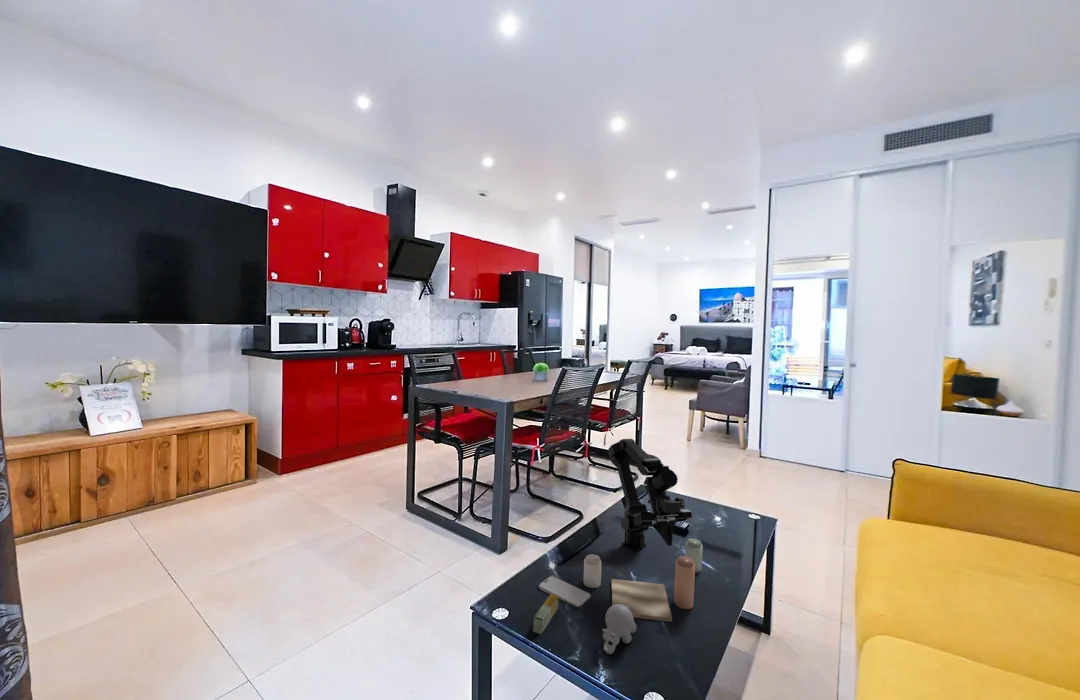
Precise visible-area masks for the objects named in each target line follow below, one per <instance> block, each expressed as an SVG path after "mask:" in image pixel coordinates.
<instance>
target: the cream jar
mask: <svg viewBox="0 0 1080 700" xmlns="http://www.w3.org/2000/svg"><path fill="white" fill-rule="evenodd" d="M601 581H602V559H601V557H600V556H599V555H597V554H593V553H589V554H587V555H586V556H585V558H584V559H583V581H582V582H583V585H584V586H586V587H587V588H589V589H595V588H599V587H600V586H601V584H602V582H601Z"/></svg>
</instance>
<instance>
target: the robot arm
mask: <svg viewBox="0 0 1080 700" xmlns="http://www.w3.org/2000/svg"><path fill="white" fill-rule="evenodd" d="M607 453H608V457H609V459H610V461H611V464H613V466H615V468H617V471H618V476H619V481H620V484H621V488H622V491H623V496H624V499H625V503H626V506H625V509H624V514H623V515H624V517H623V518H622V519H621V520H620V527H621V528H622V529H623V531H624V541H622V542H621V545H622V546H624V547H626V548H629V549H631V550H633V551H635V552H636V551H639V550H641V549H642V548H645V547H646V546H647V544H646V543H645V538H646V537H645V531H648V530H649V526H650V527H653V528H654V529H655V530H656V532H657V533H658V534H659V535H660V537H661V538H662V540H663V541H664V543H666V545H667V546H668V547H671V546H672V544H673V534H674V527H675V525H676V523H679V522H681V523H682V522H685V521H688V520H691V519H693V518H694V516H693V513H692V512H691V510H690V509H685V507H686V505H685V501H684V498H683V497H675V498H674V500H672V499H671V496H670V495H667V492H666V491H668V490H670V489H671V488H673V487H675V486H676V485H677V483H678V480H679V479H678V475H677V474H676V473H675V471H673V470H672V469H670V466H669V465H665V464H664V463H663V462H662V461H661V459H660V458H659V457H658V456H656V455H653V454H649V453H647V452H646V451H645V450H644V449H643V448H642V447H640V445H639V444H637V442H635V440H634V439H632V438H622V439H620V440H619V441H618V442H616V443H613V444H611V445H610V446H609V448H608V450H607ZM631 460H633V461H634V462H635V463H636V464H637V466H636V467H637V468H636V469H637V470H638V471H639V473H640V474H641V475H642V476H645V480H644V481H643V485H644V486H646V489H647V495H648V498H649V499H648V500H647V504H650V506H651V511H652V512H651V511H648V509H647V506H646V504H645V503H643V504H642V503H641V501H640V499H639V495H638V492H637V489H636V484H635V480H634V478H633V474H632V471H631V470H632V469H631V467H630V463H631ZM650 522H651V523H652V524H650Z"/></svg>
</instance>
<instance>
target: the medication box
mask: <svg viewBox="0 0 1080 700" xmlns="http://www.w3.org/2000/svg"><path fill="white" fill-rule="evenodd" d="M559 600H560V599H559V596H557V595H554V594H549V595H548V597H547V598H546V600H545V601H544V603H543V604H542V605H541V607H540V608H539V610H538V611H537V612H536V614H535V615H534V616H533V621H532V632H533V633H535V634H538V635H542V634H543V632H544V630H545V629H546V627H547V626H548V624H549V623H550V621H551V619H552V618H553V617H554V615H555V614H556V612H557V610H558V609H559Z"/></svg>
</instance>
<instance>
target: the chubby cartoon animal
mask: <svg viewBox="0 0 1080 700" xmlns="http://www.w3.org/2000/svg"><path fill="white" fill-rule="evenodd" d="M604 619H605V625H606V627H607V628H602V629H601V630H602V639H603V642H604V644H603V650H604V652H605V653H606V654H607V655H612V654H614V653H615V650H616V647H617V646H618V645H619V643H620V640H621V642H623V644H630V643H631V642H632V635H631V634H633V633H635V632H636V631H637V624H636V622H635V619H634V617H633V615H632V613H631V611H630V610H629V608H628V607H627V606H625V605H622V604H615V605H611V606H610V607H609V608H608V609H607V611H606V613H605V617H604Z"/></svg>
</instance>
